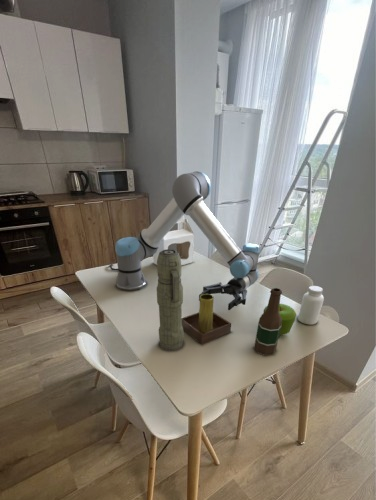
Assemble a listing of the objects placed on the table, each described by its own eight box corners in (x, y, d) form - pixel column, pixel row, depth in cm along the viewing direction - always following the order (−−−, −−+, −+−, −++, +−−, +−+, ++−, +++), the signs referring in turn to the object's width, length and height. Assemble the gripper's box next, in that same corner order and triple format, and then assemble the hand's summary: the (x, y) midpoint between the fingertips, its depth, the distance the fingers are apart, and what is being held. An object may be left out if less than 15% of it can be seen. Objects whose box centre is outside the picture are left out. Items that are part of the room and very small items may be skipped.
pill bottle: (294, 320, 123) (302, 288, 115) (302, 313, 128) (310, 282, 120) (312, 327, 119) (322, 294, 110) (320, 320, 124) (329, 288, 115)
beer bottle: (276, 357, 102) (290, 296, 89) (254, 354, 103) (264, 293, 90) (275, 344, 108) (288, 285, 95) (254, 342, 110) (264, 283, 96)
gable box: (181, 256, 191) (181, 211, 175) (193, 262, 182) (194, 215, 166) (152, 263, 180) (150, 216, 164) (164, 269, 171) (162, 220, 155)
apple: (279, 343, 109) (285, 318, 103) (253, 330, 116) (257, 305, 110) (297, 332, 116) (304, 307, 109) (272, 320, 123) (276, 296, 117)
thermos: (168, 355, 102) (165, 259, 83) (153, 339, 110) (147, 249, 91) (189, 348, 106) (191, 254, 87) (173, 333, 114) (171, 244, 95)
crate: (180, 327, 118) (180, 318, 115) (207, 317, 125) (208, 308, 123) (201, 344, 108) (202, 335, 106) (230, 332, 115) (231, 323, 113)
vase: (195, 326, 117) (196, 294, 109) (208, 323, 119) (210, 292, 111) (201, 334, 113) (203, 301, 105) (215, 330, 115) (217, 298, 107)
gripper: (262, 299, 126) (241, 319, 111) (213, 285, 138) (188, 302, 123) (265, 283, 122) (243, 302, 107) (214, 270, 134) (188, 286, 119)
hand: (213, 302), depth 115 cm, fingers open, 13 cm apart
